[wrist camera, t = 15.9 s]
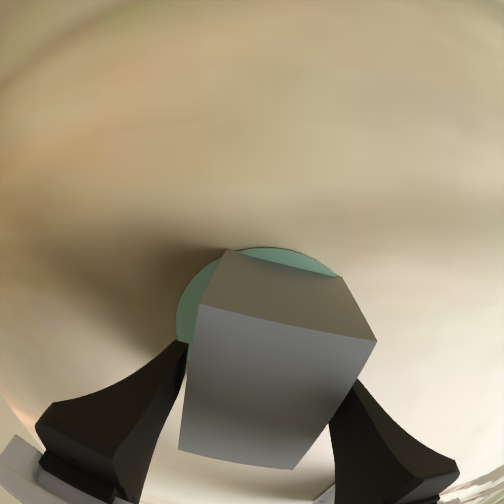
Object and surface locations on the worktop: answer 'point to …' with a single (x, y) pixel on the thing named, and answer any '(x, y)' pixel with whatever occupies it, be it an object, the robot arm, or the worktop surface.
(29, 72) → the worktop surface
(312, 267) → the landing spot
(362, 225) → the worktop surface
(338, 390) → the grey squared block
